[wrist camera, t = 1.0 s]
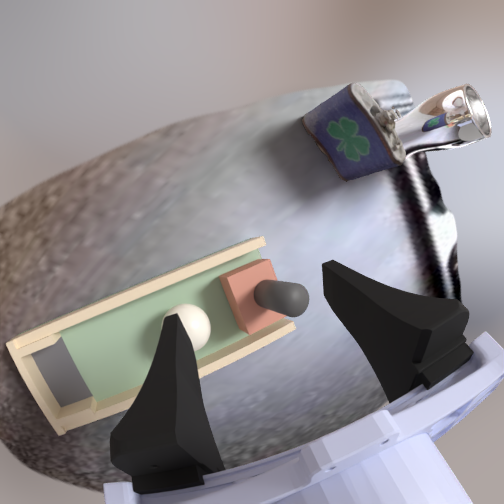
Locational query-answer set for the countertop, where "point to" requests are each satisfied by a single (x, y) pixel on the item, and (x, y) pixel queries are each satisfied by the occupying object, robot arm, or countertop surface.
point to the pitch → (132, 340)
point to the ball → (193, 323)
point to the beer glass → (444, 122)
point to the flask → (355, 133)
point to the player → (261, 296)
